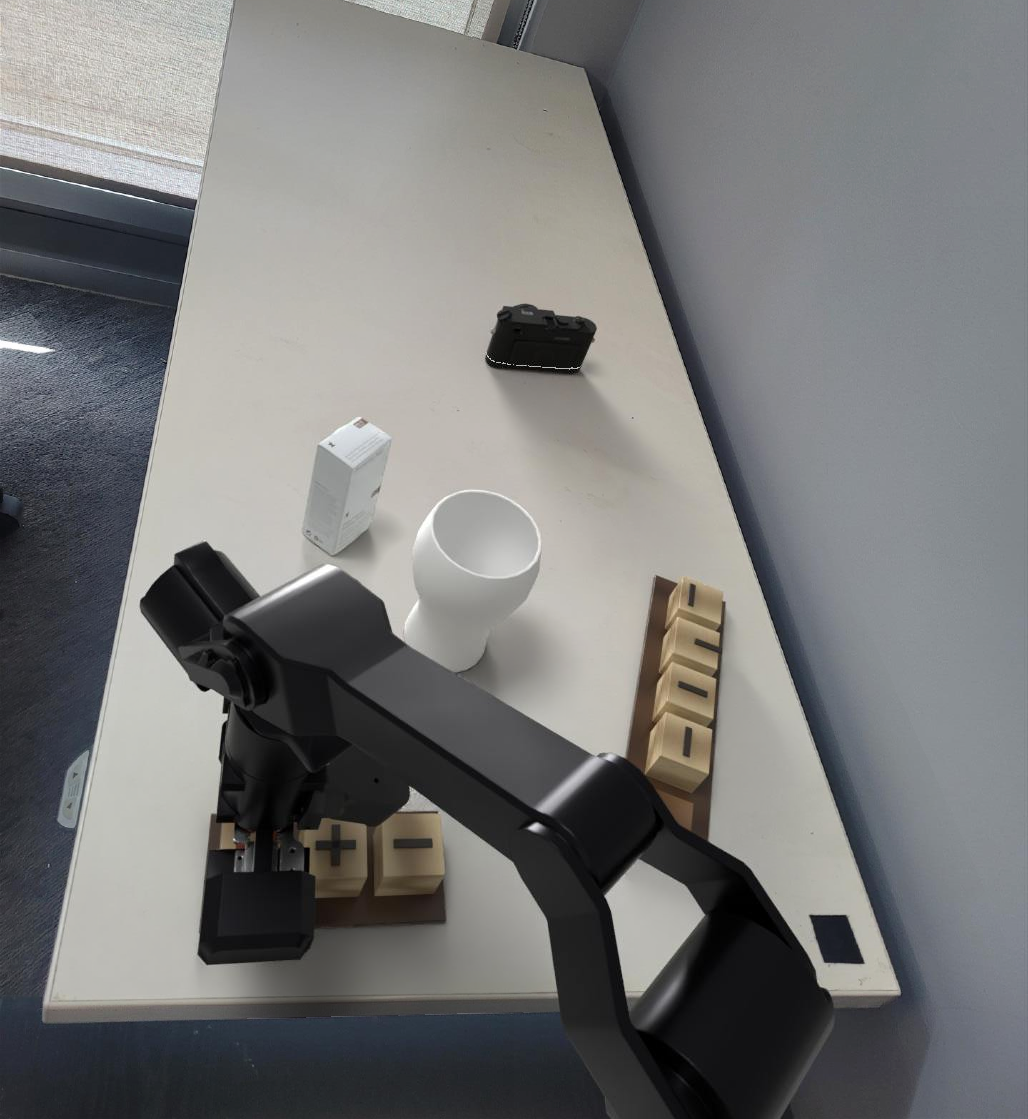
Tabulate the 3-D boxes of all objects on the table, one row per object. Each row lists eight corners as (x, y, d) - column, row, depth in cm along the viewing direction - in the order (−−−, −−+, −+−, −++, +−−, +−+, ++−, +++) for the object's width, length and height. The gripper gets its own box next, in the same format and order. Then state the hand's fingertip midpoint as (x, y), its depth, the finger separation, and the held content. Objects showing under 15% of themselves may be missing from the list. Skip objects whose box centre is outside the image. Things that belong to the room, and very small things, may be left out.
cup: (462, 576, 90) (503, 471, 80) (521, 662, 84) (573, 561, 74) (367, 610, 83) (399, 502, 74) (424, 705, 78) (466, 602, 68)
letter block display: (702, 880, 74) (725, 858, 71) (610, 845, 74) (630, 821, 71) (723, 605, 97) (741, 580, 94) (653, 577, 97) (669, 551, 94)
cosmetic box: (333, 558, 87) (354, 471, 79) (297, 532, 88) (314, 444, 80) (373, 524, 91) (397, 438, 83) (339, 499, 92) (359, 413, 84)
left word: (436, 813, 72) (449, 788, 69) (444, 922, 66) (459, 900, 63) (210, 816, 67) (214, 788, 64) (198, 934, 61) (202, 909, 58)
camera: (572, 343, 124) (591, 295, 119) (586, 378, 119) (607, 330, 114) (472, 334, 119) (488, 284, 114) (483, 370, 114) (500, 320, 109)
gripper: (426, 901, 48) (373, 993, 58) (408, 607, 61) (368, 724, 71) (204, 909, 45) (189, 1006, 55) (235, 597, 58) (219, 721, 68)
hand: (253, 847), depth 62 cm, fingers closed on letter s tile, 4 cm apart
